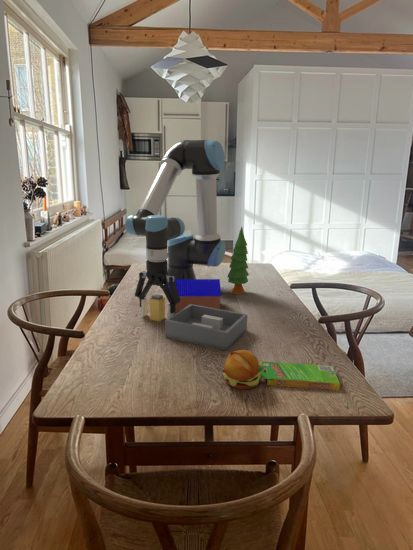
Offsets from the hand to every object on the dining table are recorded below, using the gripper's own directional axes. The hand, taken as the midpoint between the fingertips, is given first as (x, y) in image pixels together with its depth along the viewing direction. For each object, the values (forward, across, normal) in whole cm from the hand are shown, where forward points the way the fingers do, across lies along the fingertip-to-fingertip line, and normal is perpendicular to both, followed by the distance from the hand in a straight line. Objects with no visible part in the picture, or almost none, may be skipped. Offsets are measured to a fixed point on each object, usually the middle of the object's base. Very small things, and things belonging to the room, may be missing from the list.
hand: (157, 318), depth 153 cm
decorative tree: (0, +14, +44) cm, 46 cm away
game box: (+1, +56, -19) cm, 60 cm away
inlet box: (0, +22, -4) cm, 22 cm away
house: (+1, +6, +18) cm, 19 cm away
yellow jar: (0, 0, 0) cm, 0 cm away
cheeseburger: (+1, +44, -28) cm, 52 cm away
